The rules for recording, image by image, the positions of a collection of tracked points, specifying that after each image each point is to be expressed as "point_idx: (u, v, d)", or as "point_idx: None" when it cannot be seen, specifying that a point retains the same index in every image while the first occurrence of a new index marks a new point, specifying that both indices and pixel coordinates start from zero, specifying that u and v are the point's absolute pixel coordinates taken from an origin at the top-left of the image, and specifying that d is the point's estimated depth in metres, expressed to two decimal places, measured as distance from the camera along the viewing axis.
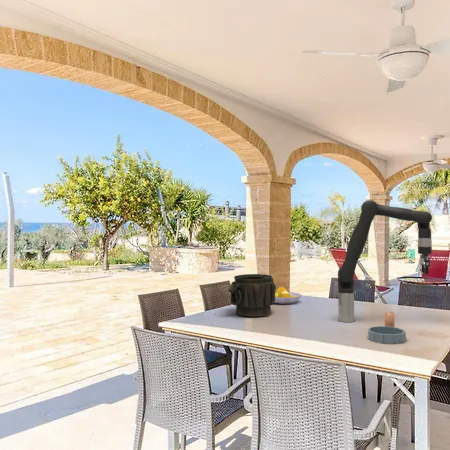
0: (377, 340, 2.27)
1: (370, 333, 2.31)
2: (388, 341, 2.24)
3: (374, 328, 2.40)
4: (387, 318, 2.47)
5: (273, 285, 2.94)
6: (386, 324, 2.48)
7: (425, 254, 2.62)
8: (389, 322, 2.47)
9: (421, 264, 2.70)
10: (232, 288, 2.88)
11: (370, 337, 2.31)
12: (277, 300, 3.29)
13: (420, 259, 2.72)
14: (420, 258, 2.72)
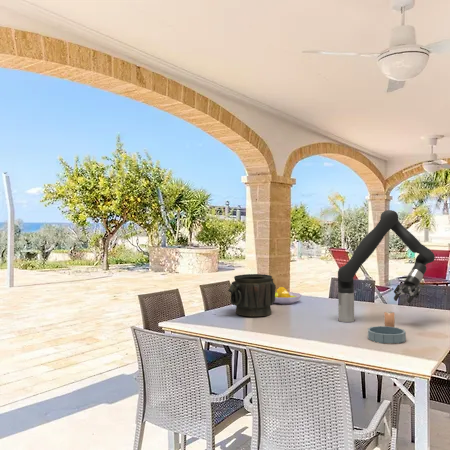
0: (377, 340, 2.27)
1: (370, 333, 2.31)
2: (388, 341, 2.24)
3: (374, 328, 2.40)
4: (387, 318, 2.47)
5: (273, 285, 2.94)
6: (386, 324, 2.48)
7: (415, 285, 2.56)
8: (389, 322, 2.47)
9: (398, 292, 2.59)
10: (232, 288, 2.88)
11: (370, 337, 2.31)
12: (277, 300, 3.29)
13: (396, 288, 2.63)
14: (397, 287, 2.63)
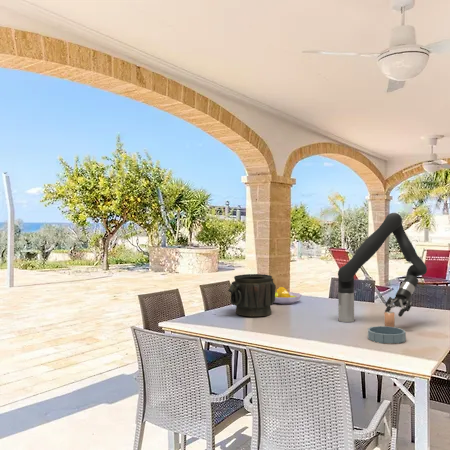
0: (377, 340, 2.27)
1: (370, 333, 2.31)
2: (388, 341, 2.24)
3: (374, 328, 2.40)
4: (387, 318, 2.47)
5: (273, 285, 2.94)
6: (386, 324, 2.48)
7: (407, 298, 2.52)
8: (389, 322, 2.47)
9: (390, 305, 2.55)
10: (232, 288, 2.88)
11: (370, 337, 2.31)
12: (277, 300, 3.29)
13: (388, 300, 2.59)
14: (388, 300, 2.59)
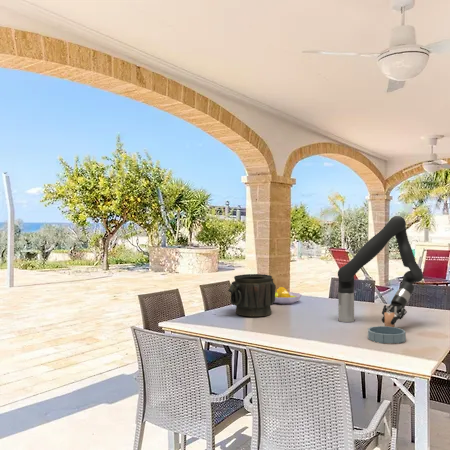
0: (377, 340, 2.27)
1: (370, 333, 2.31)
2: (388, 341, 2.24)
3: (374, 328, 2.40)
4: (387, 318, 2.47)
5: (273, 285, 2.94)
6: (386, 324, 2.48)
7: (402, 306, 2.50)
8: (389, 322, 2.47)
9: None
10: (232, 288, 2.88)
11: (370, 337, 2.31)
12: (277, 300, 3.29)
13: (384, 309, 2.56)
14: (384, 308, 2.56)
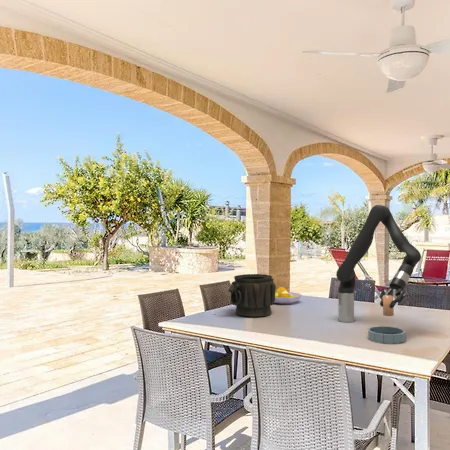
0: (377, 340, 2.27)
1: (370, 333, 2.31)
2: (388, 341, 2.24)
3: (374, 328, 2.40)
4: (386, 301, 2.35)
5: (273, 285, 2.94)
6: (385, 308, 2.36)
7: (401, 288, 2.37)
8: (388, 305, 2.34)
9: None
10: (232, 288, 2.88)
11: (370, 337, 2.31)
12: (277, 300, 3.29)
13: (382, 292, 2.43)
14: (382, 291, 2.43)
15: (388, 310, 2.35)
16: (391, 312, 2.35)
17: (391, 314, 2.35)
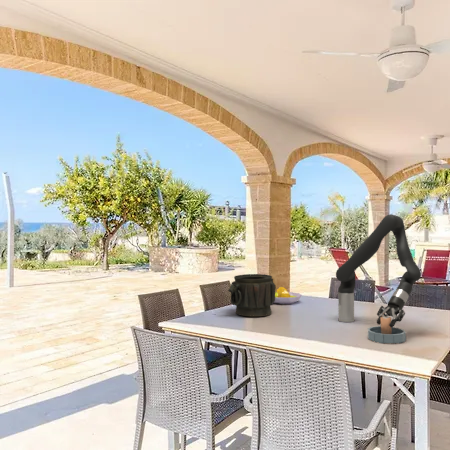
0: (377, 340, 2.27)
1: (370, 333, 2.31)
2: (388, 341, 2.24)
3: (374, 328, 2.40)
4: (384, 323, 2.31)
5: (273, 285, 2.94)
6: (382, 330, 2.32)
7: (400, 307, 2.33)
8: (386, 327, 2.30)
9: (382, 314, 2.36)
10: (232, 288, 2.88)
11: (370, 337, 2.31)
12: (277, 300, 3.29)
13: (380, 310, 2.39)
14: (380, 309, 2.40)
15: (386, 332, 2.30)
16: None
17: None
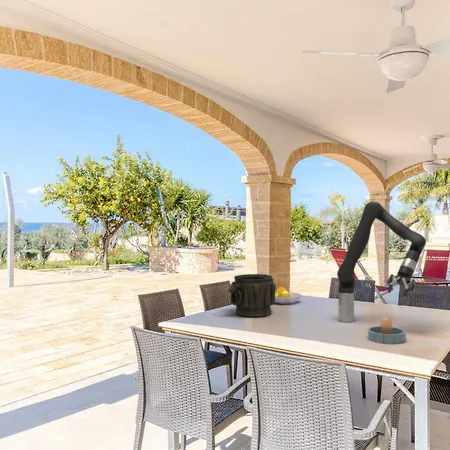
0: (377, 340, 2.27)
1: (370, 333, 2.31)
2: (388, 341, 2.24)
3: (374, 328, 2.40)
4: (384, 323, 2.31)
5: (273, 285, 2.94)
6: (383, 330, 2.32)
7: (410, 277, 2.45)
8: (386, 327, 2.30)
9: (392, 283, 2.48)
10: (232, 288, 2.88)
11: (370, 337, 2.31)
12: (277, 300, 3.29)
13: (390, 278, 2.51)
14: (390, 277, 2.51)
15: (386, 332, 2.30)
16: None
17: None
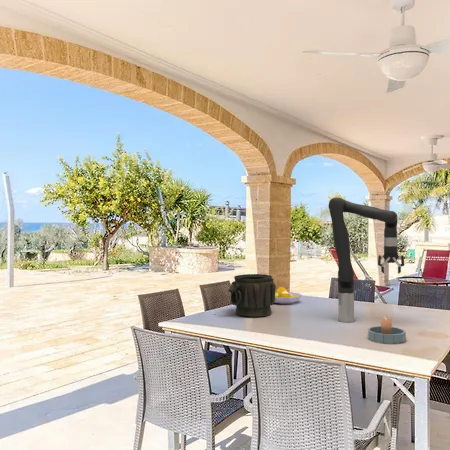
0: (377, 340, 2.27)
1: (370, 333, 2.31)
2: (388, 341, 2.24)
3: (374, 328, 2.40)
4: (384, 323, 2.31)
5: (273, 285, 2.94)
6: (383, 330, 2.32)
7: (397, 253, 2.61)
8: (386, 327, 2.30)
9: None
10: (232, 288, 2.88)
11: (370, 337, 2.31)
12: (277, 300, 3.29)
13: (379, 260, 2.62)
14: (379, 259, 2.62)
15: (386, 332, 2.30)
16: None
17: None
